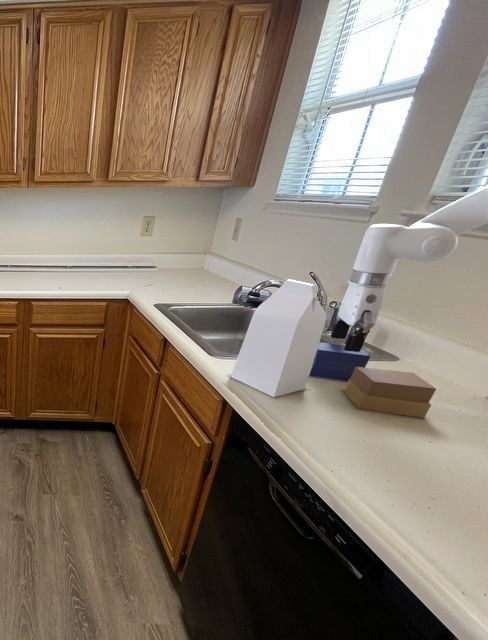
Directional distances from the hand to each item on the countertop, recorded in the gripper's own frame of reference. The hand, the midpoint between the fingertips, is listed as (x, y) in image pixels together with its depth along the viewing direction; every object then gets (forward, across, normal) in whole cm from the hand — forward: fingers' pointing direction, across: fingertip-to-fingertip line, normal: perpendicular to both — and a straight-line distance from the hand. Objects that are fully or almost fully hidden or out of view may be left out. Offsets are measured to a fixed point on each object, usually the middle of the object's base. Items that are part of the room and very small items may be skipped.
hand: (344, 344), depth 108 cm
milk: (+9, -12, +18) cm, 23 cm away
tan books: (+9, -15, -5) cm, 18 cm away
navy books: (+9, 0, +1) cm, 9 cm away
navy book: (+4, 0, +1) cm, 4 cm away
